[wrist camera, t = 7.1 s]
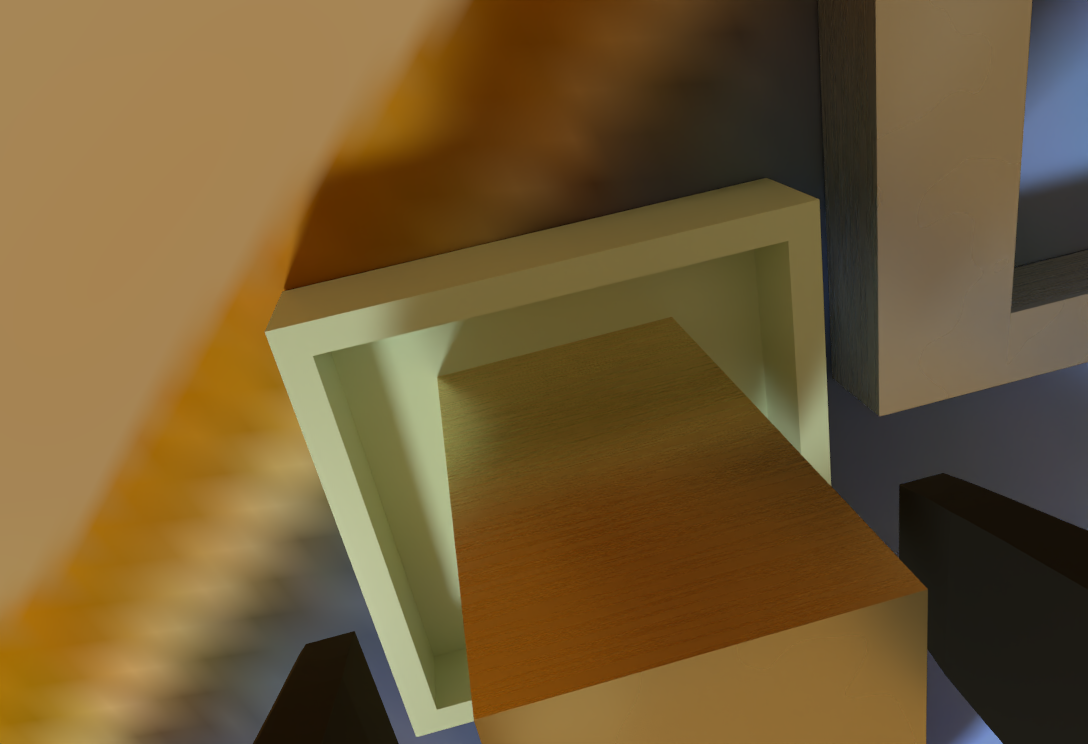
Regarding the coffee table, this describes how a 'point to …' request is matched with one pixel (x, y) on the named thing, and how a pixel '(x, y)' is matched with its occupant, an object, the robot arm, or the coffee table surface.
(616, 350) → the upright wooden block
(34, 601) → the coffee table surface
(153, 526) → the coffee table surface
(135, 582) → the coffee table surface
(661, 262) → the parts tray
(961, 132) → the grey rectangular frame
